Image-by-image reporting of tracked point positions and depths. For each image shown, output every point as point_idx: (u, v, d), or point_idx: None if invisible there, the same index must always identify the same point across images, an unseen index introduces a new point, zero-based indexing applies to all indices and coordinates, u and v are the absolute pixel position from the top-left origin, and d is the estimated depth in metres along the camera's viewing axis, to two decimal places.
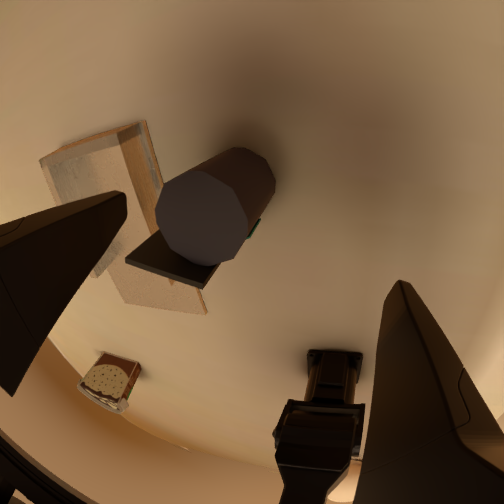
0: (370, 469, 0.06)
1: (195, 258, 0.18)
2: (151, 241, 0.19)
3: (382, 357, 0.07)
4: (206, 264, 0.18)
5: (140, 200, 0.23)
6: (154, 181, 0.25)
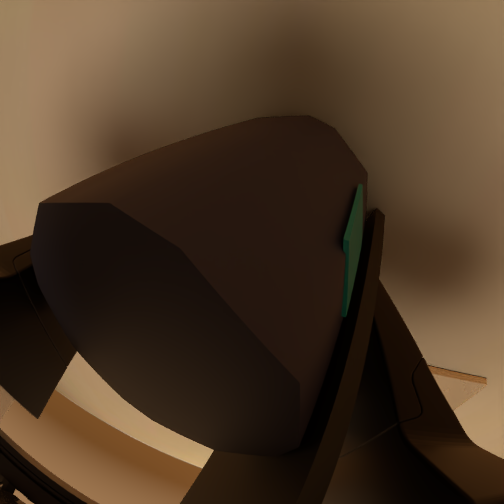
0: None
1: (257, 446, 0.04)
2: None
3: None
4: (289, 445, 0.04)
5: None
6: None
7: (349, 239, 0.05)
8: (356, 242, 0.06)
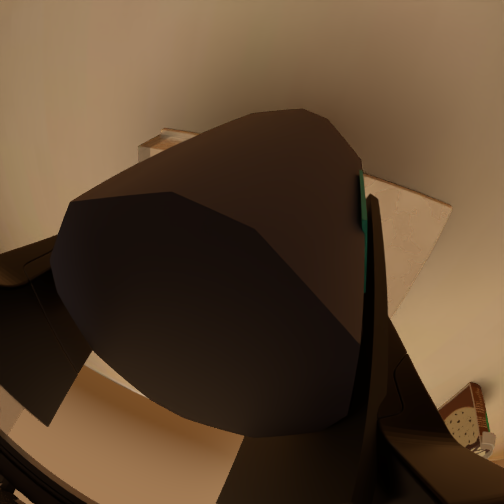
0: None
1: (303, 423, 0.05)
2: None
3: None
4: (337, 414, 0.04)
5: None
6: None
7: (366, 219, 0.05)
8: None
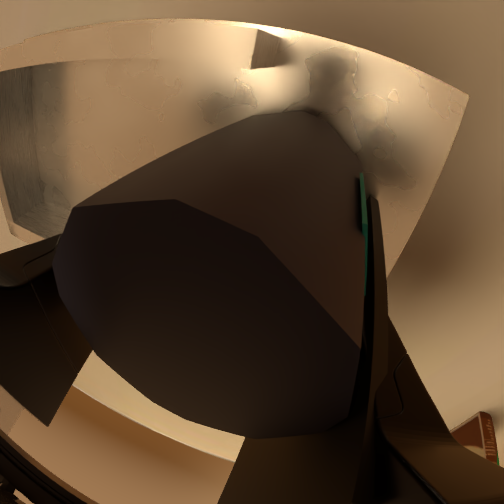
0: None
1: (304, 424, 0.05)
2: None
3: None
4: (338, 416, 0.04)
5: (45, 37, 0.07)
6: None
7: (367, 223, 0.05)
8: None
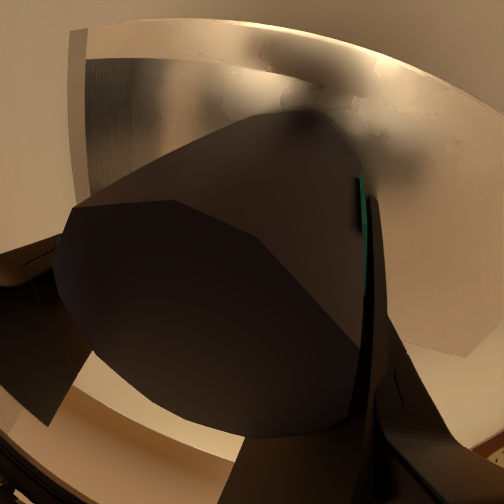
0: None
1: (303, 425, 0.05)
2: None
3: None
4: (338, 416, 0.04)
5: None
6: None
7: (366, 223, 0.05)
8: None
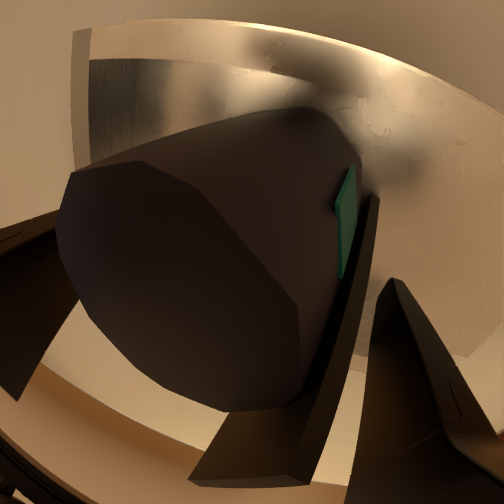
0: (361, 468, 0.06)
1: (263, 396, 0.05)
2: (233, 412, 0.08)
3: (374, 355, 0.07)
4: (293, 389, 0.04)
5: None
6: None
7: (340, 204, 0.06)
8: (349, 213, 0.07)
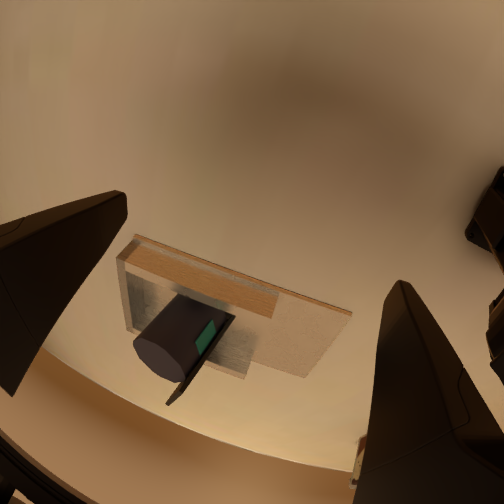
0: (371, 469, 0.06)
1: (180, 378, 0.24)
2: (179, 384, 0.28)
3: (382, 357, 0.07)
4: (184, 377, 0.24)
5: (173, 279, 0.26)
6: (180, 259, 0.28)
7: (196, 341, 0.25)
8: (205, 337, 0.26)
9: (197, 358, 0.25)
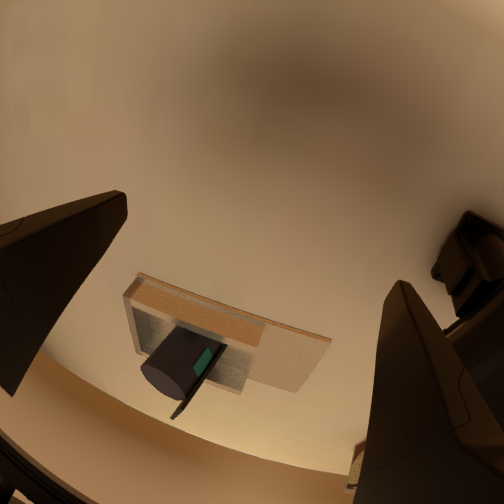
0: (370, 470, 0.06)
1: (181, 397, 0.28)
2: (182, 401, 0.31)
3: (382, 357, 0.07)
4: (184, 397, 0.27)
5: (172, 314, 0.29)
6: (178, 295, 0.31)
7: (194, 366, 0.28)
8: (202, 362, 0.30)
9: (195, 380, 0.29)
